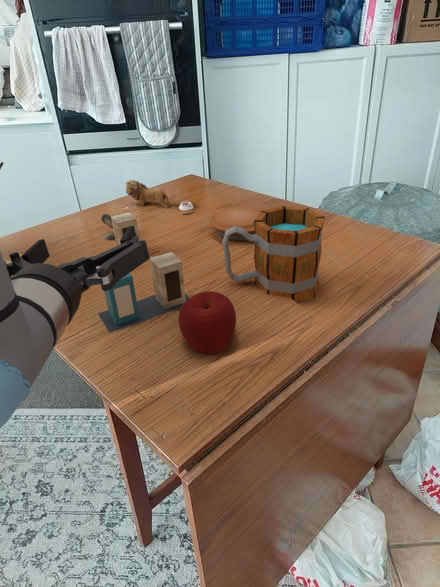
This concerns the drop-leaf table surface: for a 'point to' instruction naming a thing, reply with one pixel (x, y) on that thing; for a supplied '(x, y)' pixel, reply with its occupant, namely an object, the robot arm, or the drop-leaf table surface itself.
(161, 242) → the drop-leaf table surface
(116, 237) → the letter
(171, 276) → the cream upright block
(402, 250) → the drop-leaf table surface
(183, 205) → the white jar
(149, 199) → the lion figurine
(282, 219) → the mug
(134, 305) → the teal upright block
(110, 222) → the eagle figurine
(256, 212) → the pie
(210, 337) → the apple
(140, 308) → the front word board
